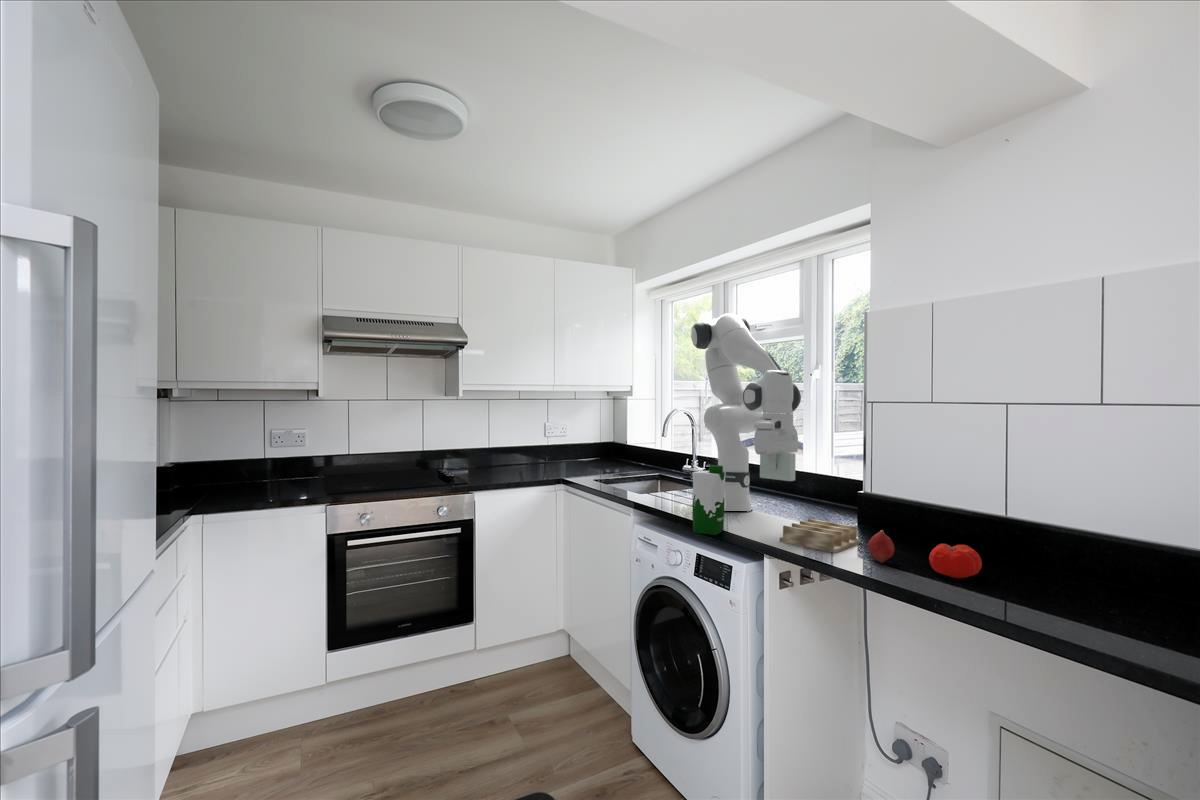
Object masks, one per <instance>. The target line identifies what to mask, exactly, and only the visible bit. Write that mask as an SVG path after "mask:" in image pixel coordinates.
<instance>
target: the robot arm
mask: <svg viewBox="0 0 1200 800" xmlns="http://www.w3.org/2000/svg"><path fill="white" fill-rule="evenodd" d="M690 338H691V342H692V344H693V346H694V347H695V348H696V349H699V350H705V355H704V358H705V366H706V373H707V376H708V381H709V385H710V389H711V393H712V394H713V395H714V396H715V397H716V398H717V399H718V400H720V402H721V403H719V404H714V405H711V406H709V407H708V408H706V409H705V411H704V415H703V423H704V426H705V428H706V429H707V430H708V431H709V432H710V434H712V437H713V439H714V441H715V444H716V448H717V461H718V462H717V465H720V466H723V472H726V475H725V493H724V511H747V512H750V511H751V510H752V511H753V509H754V508H753V506H752V503H751V502H752V501H751V495H750V482H751V477H750V474H751V473H750V470H749V464H750V463H749V461H750V460H749V459H750V458H749V457H750V454H749V453H750V452H749V449H748V447H746V446H745V445H744V444H743V443H742V442H743V441H742V440H741V437H740V434H750V433H753V432H754V437H753V439H754V444H753V445H754V451H755V454H756V455H759V456H760V455H767V458H768V460H769V463H770V469H777V465H778V463H776V460H775V458H776V454H780V453H797V452H798V450H799V437H798V435H799V434H798V431H797V429H796V427H795V425H794V412H795V410H797V409H798V407H799V406H800V404H801V399H802V396H801V391H800V390H799V388H798V387H797V385H796V384H795V383H794V382H793V377H792V374H791V373H790V372H788V371H787V370H782V368H781V367H780V365H779V364H778V363H777V361H776V360H775V359H774V357H773V356H772V355H771V353H770V352H769V351H767V350H766V349H765V348H764V347H762V345H760V344H759V343H758V342H757V341H756V340H755V338H754V337H753V336H752V334H751V327H750V324H749V321H748V320H747V318H746V317H745V316H739V315H737V314H735V313H729V312H728V313H724V314H722V315H720V316H719V317H717V318H713V319H708V320H701V321H698V322H695V323H693V325H692V327H691V331H690ZM737 365H739V366H744V367H747V368H750V369H753V370H755V371H758V372H759V373H760V374H762V376H761V378H759V379H758V380H755V381H754V382H750V383H749V384H748V385H747V386H745V388H744V387H743V386H742V383H741V380H740V376H739V372H738V368H737ZM691 503H692V504H693V502H691ZM692 504H691V505H692Z"/></svg>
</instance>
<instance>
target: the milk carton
mask: <svg viewBox="0 0 1200 800" xmlns="http://www.w3.org/2000/svg"><path fill="white" fill-rule="evenodd" d="M708 467H709V468H708V470H698V471H694V472H692V503H693V505H692V532H693V533H697V534H703V535H704V534H705V535H710V536H711V535H712V536H717V535H719V534H720V533H722V532H723V531H724V526H725V525H724V524H725V523H724V522H725V512H724V493H725V475H726V472H723V466H720V465H718V464H717V465H716V464H715V465H714V464H710V465H708ZM722 530H723V531H722Z"/></svg>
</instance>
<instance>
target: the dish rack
mask: <svg viewBox="0 0 1200 800" xmlns="http://www.w3.org/2000/svg"><path fill="white" fill-rule="evenodd" d="M857 531H858V527H857V526H854V525H848V524H843V523H838V522H831V521H826V520H820V519H813V518H807V521H804V520H800V521H799V523H794V522H792V523H791V525H790V526H789V525H783V526H782V536H780V537H779V541H778V542H781V541H782V543H786V544H792V545H797V546H800V547H806V548H809V549H810V548H811V549H816V550H820V551H824V552H830V553H834V554H837V553H840V552H842V551H844V550H848V549H849V548H853V547H855V546H857V545H860V544H861V539H860V538H859V539H858V538H857V536H858V534H857V533H858V532H857ZM859 543H860V544H859Z"/></svg>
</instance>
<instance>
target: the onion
mask: <svg viewBox="0 0 1200 800" xmlns="http://www.w3.org/2000/svg"><path fill="white" fill-rule="evenodd" d="M884 531H885V530H883V529H882V530H881V529H880V530H879V532H877V533H875V534H874V535H873V536H871V538H870V539H869V540H868V543H867V549H868V551H869V554H870V555H871V556H872V557H873V558H874V559H875V560H877V562H879V563H880V564H881V563H882V564H883V563H884V562H886V561H888V560H889V559H890V558H891V557H893V555H894V553H895V545H894V542H893V541H892V539H891V538H890V537H889V536H888V535H886V534H885V532H884Z"/></svg>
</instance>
